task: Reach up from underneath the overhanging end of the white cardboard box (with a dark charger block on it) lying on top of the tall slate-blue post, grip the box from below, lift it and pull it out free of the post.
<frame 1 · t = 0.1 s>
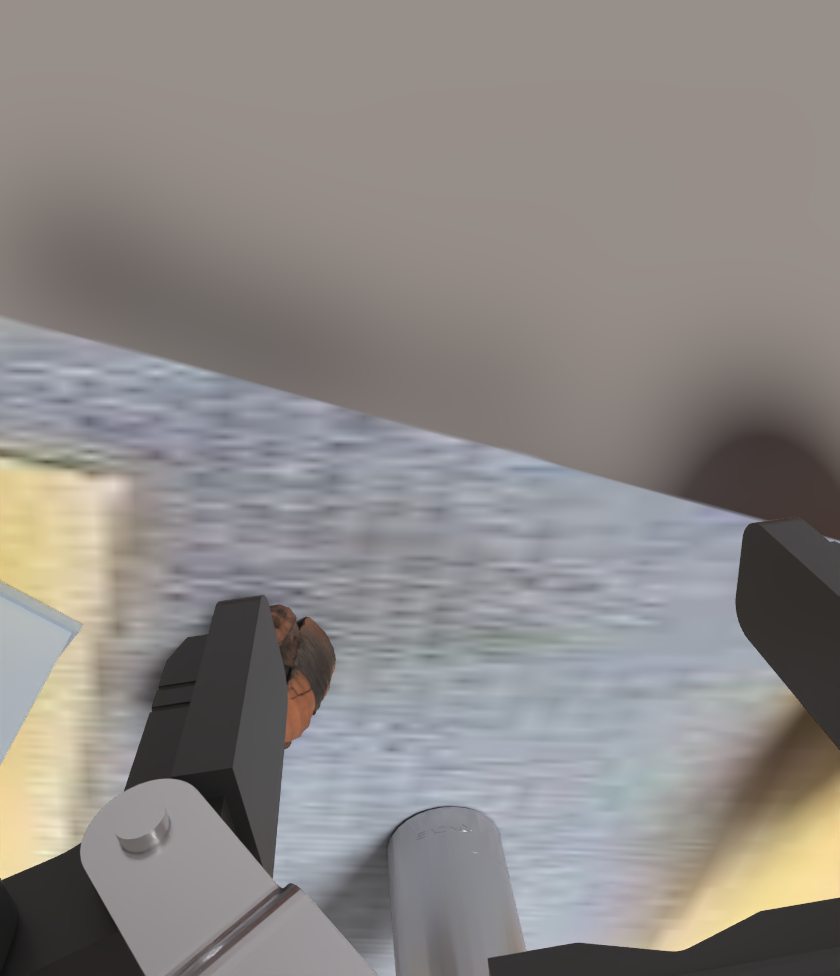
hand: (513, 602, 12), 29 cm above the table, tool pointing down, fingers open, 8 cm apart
pottery mug: (263, 643, 48), on the table
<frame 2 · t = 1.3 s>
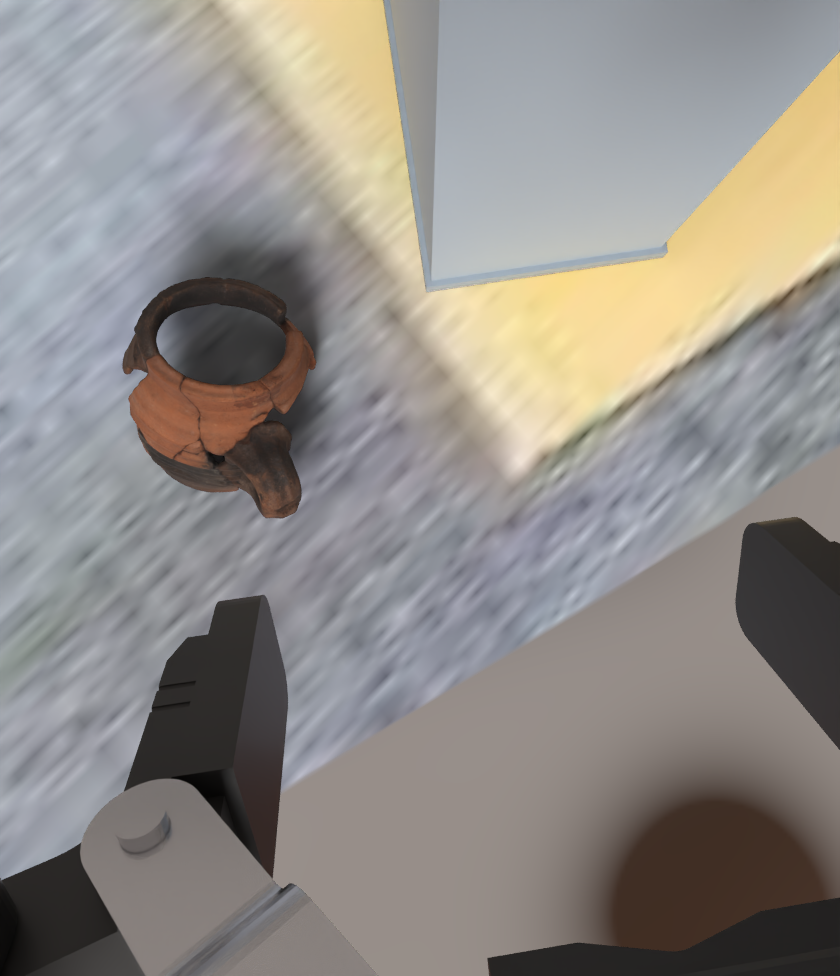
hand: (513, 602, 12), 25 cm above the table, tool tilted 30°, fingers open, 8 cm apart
pottery mug: (245, 418, 38), on the table
post: (521, 121, 38), on the table
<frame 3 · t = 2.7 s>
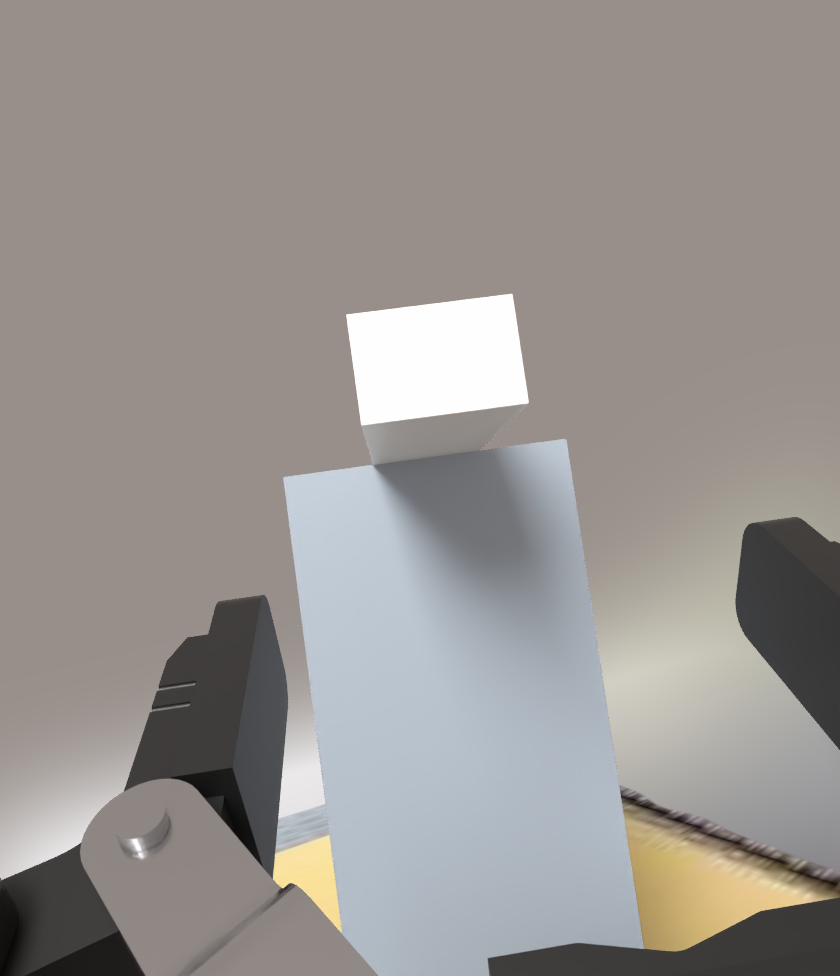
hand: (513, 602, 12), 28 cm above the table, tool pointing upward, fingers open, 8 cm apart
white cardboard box: (423, 462, 32), point 32 cm above the table, touching post
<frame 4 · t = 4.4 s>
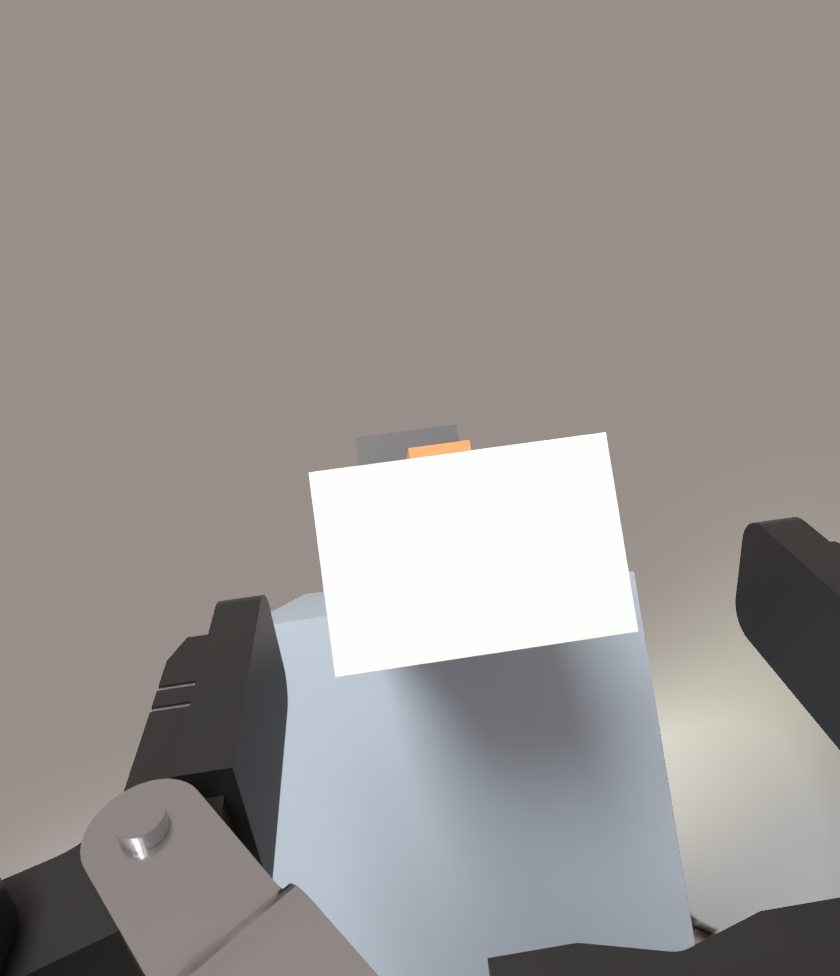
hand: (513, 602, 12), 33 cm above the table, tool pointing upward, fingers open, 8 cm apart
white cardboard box: (434, 595, 23), point 32 cm above the table, touching post
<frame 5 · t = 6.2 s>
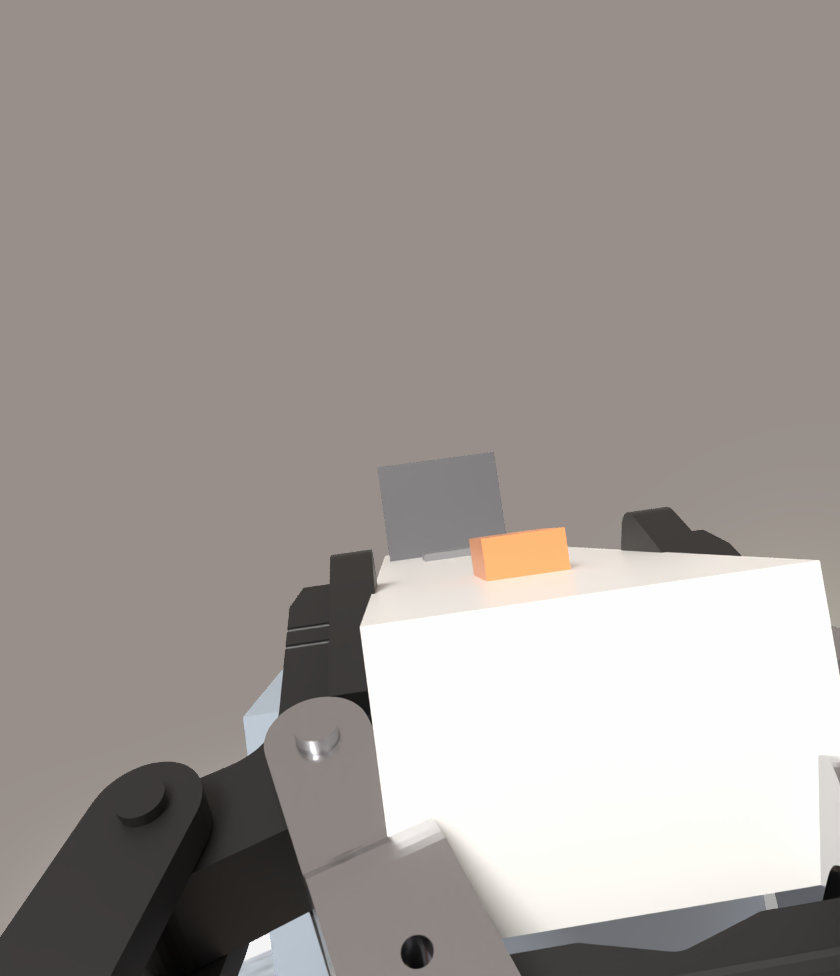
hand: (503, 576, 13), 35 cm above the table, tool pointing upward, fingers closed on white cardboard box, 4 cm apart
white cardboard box: (476, 665, 20), point 32 cm above the table, touching gripper, post
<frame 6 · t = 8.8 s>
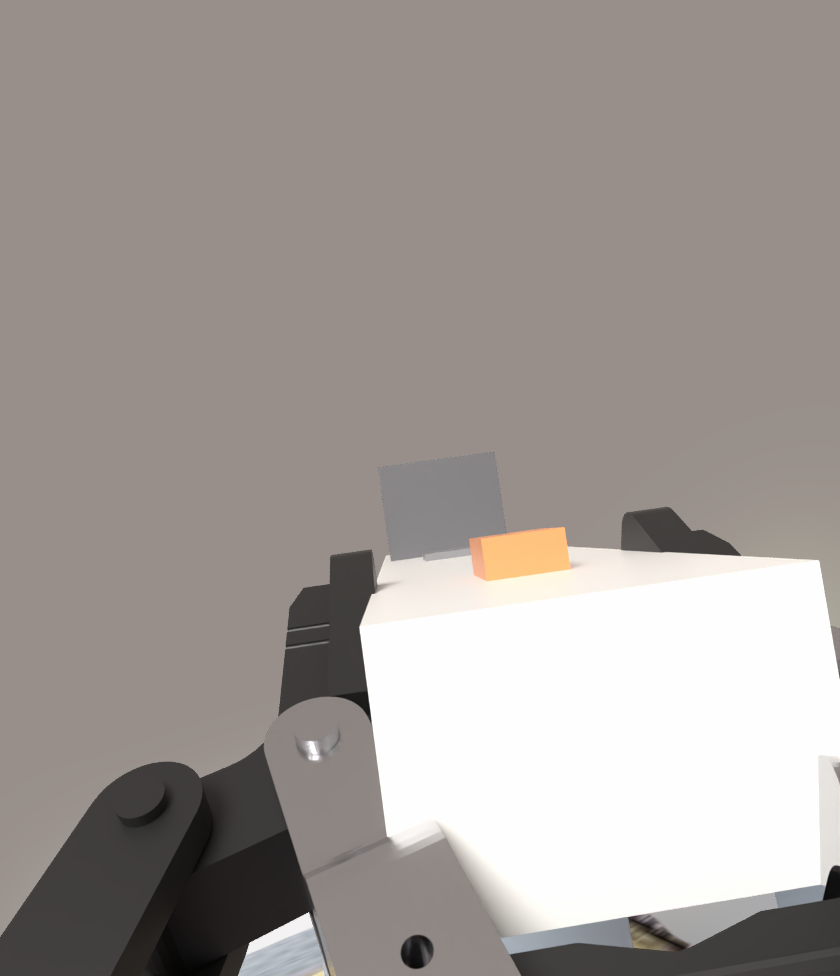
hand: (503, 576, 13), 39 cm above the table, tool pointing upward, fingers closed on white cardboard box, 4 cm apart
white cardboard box: (477, 664, 20), point 36 cm above the table, touching gripper
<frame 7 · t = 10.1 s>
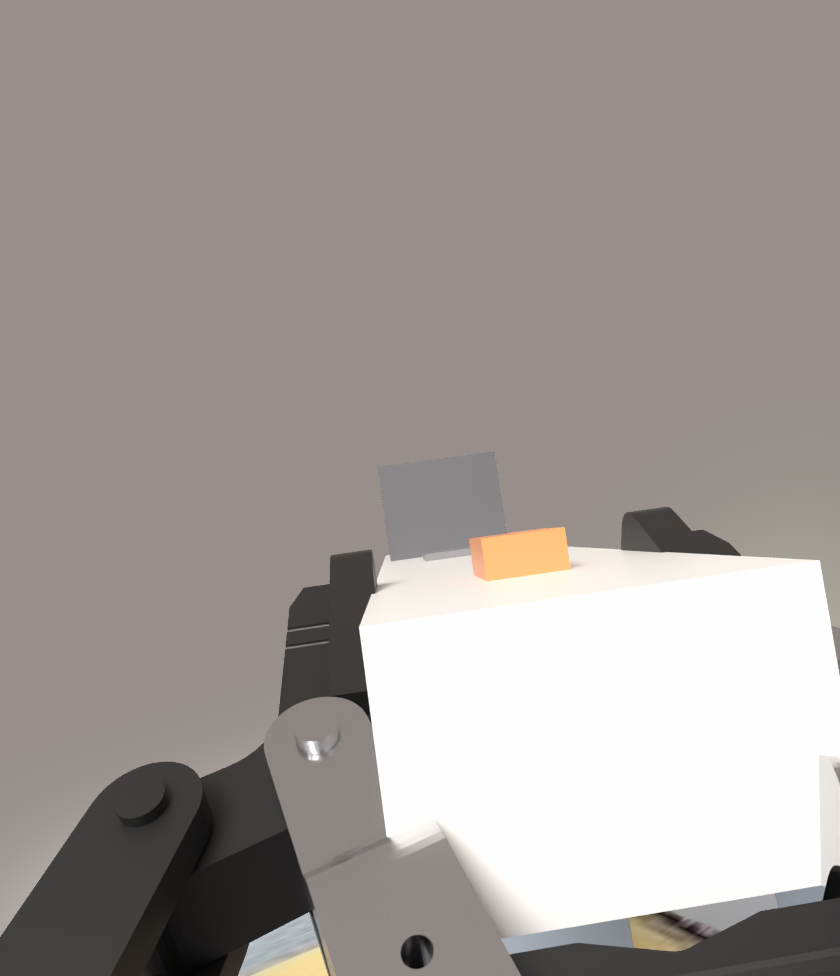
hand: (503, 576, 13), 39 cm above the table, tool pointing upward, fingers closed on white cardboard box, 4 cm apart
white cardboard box: (477, 664, 20), point 36 cm above the table, touching gripper
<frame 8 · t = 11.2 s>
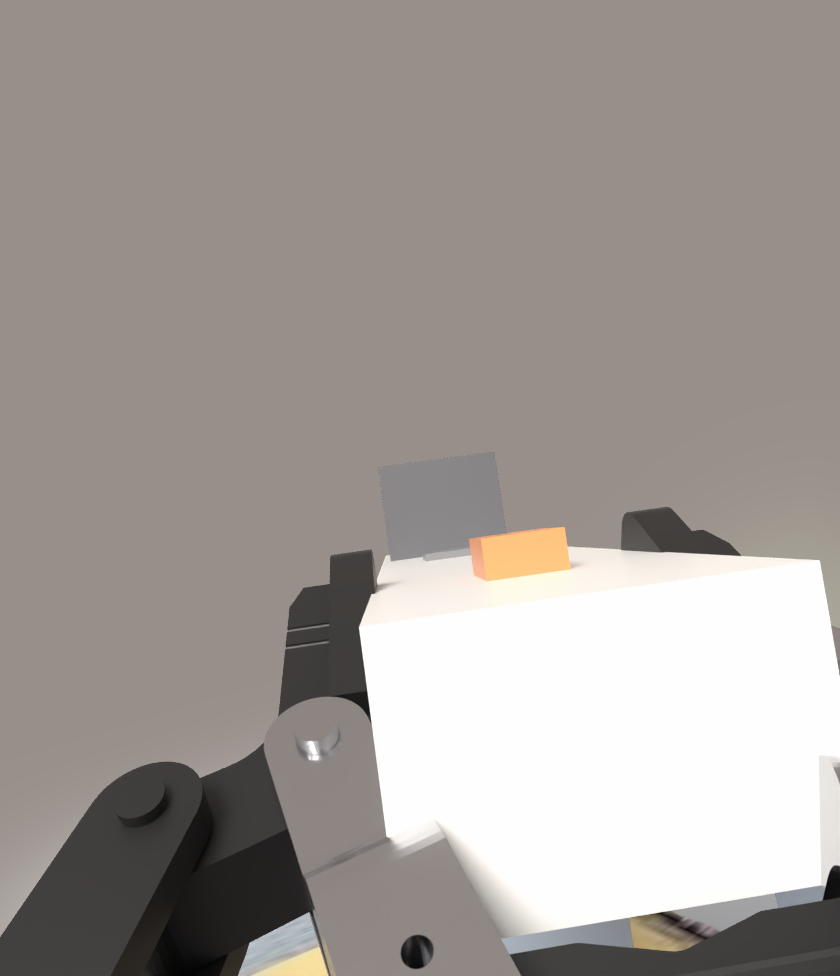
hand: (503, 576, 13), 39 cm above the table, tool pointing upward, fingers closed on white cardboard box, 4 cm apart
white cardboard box: (477, 664, 20), point 36 cm above the table, touching gripper
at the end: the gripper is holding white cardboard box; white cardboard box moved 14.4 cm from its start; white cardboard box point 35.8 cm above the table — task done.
